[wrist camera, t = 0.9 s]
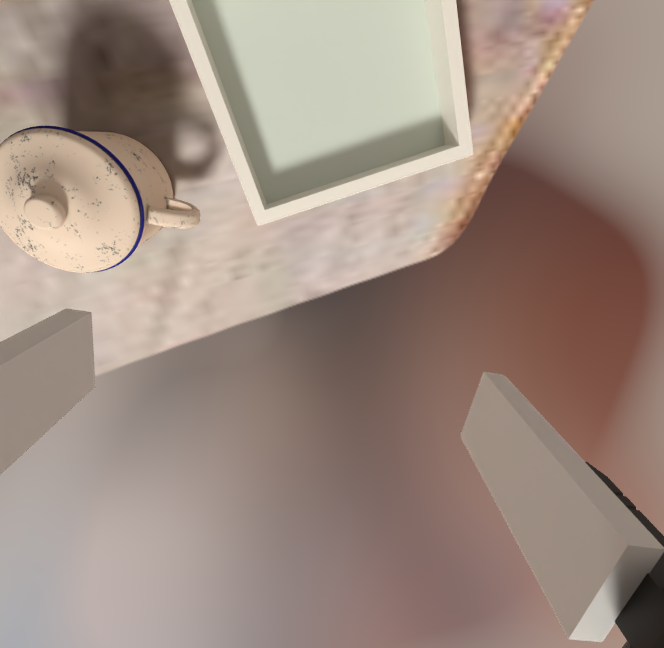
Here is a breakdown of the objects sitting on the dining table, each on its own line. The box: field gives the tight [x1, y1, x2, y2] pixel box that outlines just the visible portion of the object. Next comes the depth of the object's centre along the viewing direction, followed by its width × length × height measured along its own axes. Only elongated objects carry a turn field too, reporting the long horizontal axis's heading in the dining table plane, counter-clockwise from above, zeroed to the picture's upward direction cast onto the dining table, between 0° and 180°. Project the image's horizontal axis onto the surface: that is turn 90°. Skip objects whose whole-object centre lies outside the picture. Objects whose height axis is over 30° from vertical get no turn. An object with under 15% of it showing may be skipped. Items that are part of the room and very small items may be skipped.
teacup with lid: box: [0, 126, 200, 273], centre depth 27 cm, size 12×9×12 cm
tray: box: [169, 0, 473, 226], centre depth 28 cm, size 18×18×4 cm
